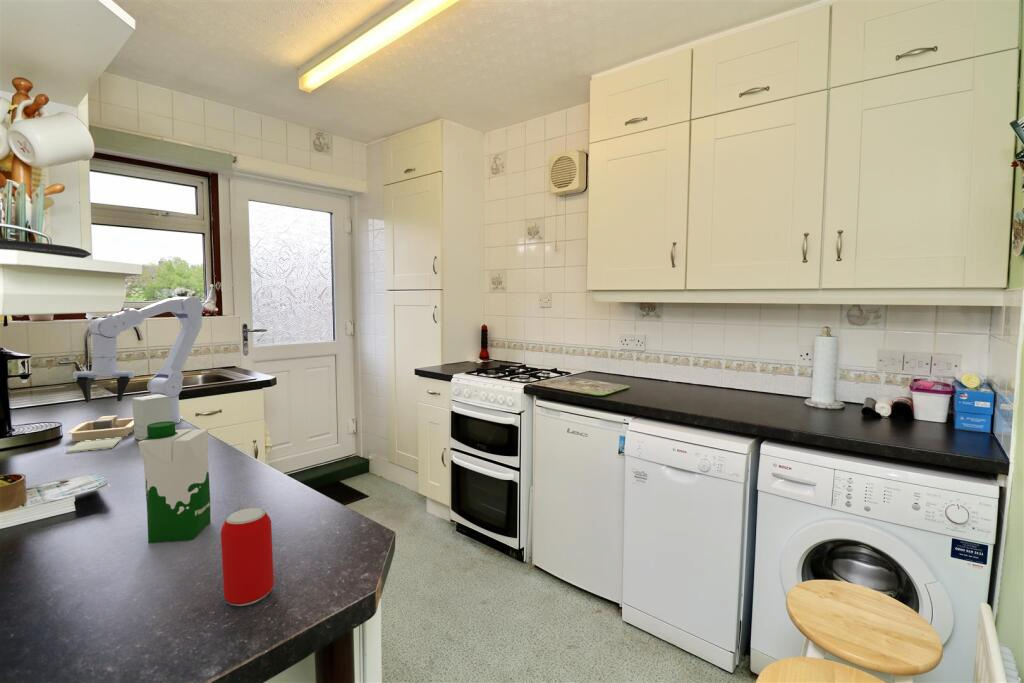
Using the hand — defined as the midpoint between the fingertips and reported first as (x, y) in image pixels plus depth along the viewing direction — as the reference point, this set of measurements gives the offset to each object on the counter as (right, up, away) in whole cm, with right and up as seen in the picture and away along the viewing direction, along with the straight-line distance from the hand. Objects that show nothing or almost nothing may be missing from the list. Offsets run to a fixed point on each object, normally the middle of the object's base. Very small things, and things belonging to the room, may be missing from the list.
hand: (103, 401), depth 150 cm
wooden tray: (-1, -11, +2) cm, 11 cm away
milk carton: (+66, -16, -62) cm, 92 cm away
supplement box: (+17, -11, -2) cm, 20 cm away
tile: (+6, -12, -10) cm, 17 cm away
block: (-1, -11, +2) cm, 11 cm away
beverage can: (+89, -18, -81) cm, 121 cm away
